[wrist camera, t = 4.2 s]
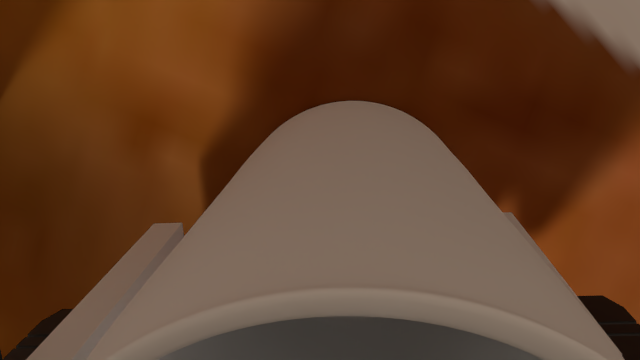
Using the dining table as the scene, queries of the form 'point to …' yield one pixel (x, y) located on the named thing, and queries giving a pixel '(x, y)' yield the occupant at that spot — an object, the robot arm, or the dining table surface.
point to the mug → (353, 260)
